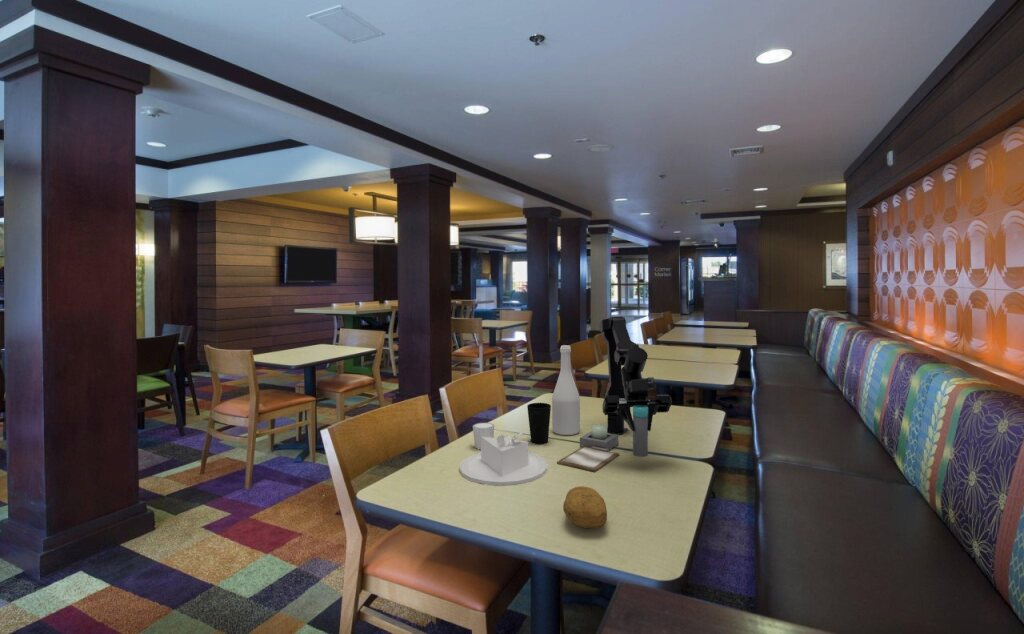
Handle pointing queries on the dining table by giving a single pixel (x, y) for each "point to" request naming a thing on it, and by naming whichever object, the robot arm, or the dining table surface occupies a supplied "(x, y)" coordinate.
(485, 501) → the dining table surface
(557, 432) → the wine bottle
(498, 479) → the dish
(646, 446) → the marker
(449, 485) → the dining table surface
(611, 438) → the button housing
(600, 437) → the button
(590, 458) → the clipboard
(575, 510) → the potato
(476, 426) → the shot glass
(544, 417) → the cup
